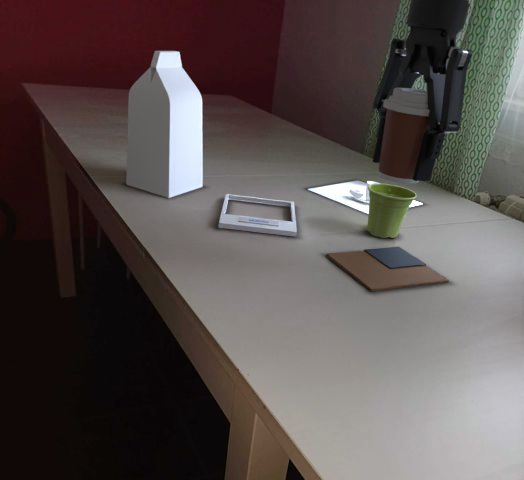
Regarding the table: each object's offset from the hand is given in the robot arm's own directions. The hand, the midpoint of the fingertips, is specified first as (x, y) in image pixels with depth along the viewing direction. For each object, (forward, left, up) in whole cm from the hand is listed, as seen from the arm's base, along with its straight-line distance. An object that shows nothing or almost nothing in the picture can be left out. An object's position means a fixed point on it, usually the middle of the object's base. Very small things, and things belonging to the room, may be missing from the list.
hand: (400, 170), depth 82 cm
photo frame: (+28, +9, -17) cm, 34 cm away
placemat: (+1, -3, -17) cm, 17 cm away
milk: (+49, +22, -17) cm, 56 cm away
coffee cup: (0, 0, -1) cm, 1 cm away
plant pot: (+16, -13, -17) cm, 27 cm away
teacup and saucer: (+38, -24, -17) cm, 48 cm away
